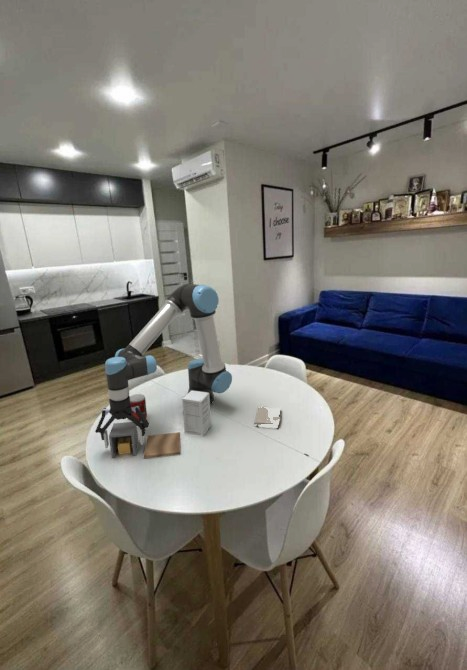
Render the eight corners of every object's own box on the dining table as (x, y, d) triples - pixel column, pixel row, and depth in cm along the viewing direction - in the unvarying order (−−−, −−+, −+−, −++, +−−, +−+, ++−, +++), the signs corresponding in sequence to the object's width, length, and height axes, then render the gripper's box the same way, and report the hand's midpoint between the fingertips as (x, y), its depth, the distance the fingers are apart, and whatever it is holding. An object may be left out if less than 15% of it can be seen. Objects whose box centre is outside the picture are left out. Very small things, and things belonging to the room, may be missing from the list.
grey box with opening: (138, 442, 128) (136, 421, 126) (135, 455, 120) (133, 433, 117) (116, 444, 127) (113, 423, 124) (111, 458, 118) (108, 435, 116)
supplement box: (211, 425, 140) (210, 392, 136) (203, 436, 132) (201, 401, 128) (192, 422, 144) (191, 389, 139) (183, 432, 135) (181, 398, 131)
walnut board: (180, 434, 134) (180, 432, 133) (180, 454, 120) (179, 451, 120) (147, 437, 131) (147, 435, 131) (143, 458, 118) (143, 456, 118)
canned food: (142, 423, 143) (140, 401, 140) (127, 421, 145) (124, 400, 142) (149, 414, 150) (148, 394, 148) (135, 413, 152) (133, 393, 149)
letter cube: (132, 446, 126) (131, 436, 125) (130, 452, 122) (129, 443, 121) (120, 447, 125) (119, 437, 124) (118, 454, 121) (117, 444, 120)
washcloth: (253, 428, 139) (253, 422, 138) (257, 409, 156) (257, 403, 155) (279, 430, 137) (280, 424, 136) (281, 411, 154) (281, 405, 153)
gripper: (153, 390, 123) (156, 436, 128) (88, 395, 119) (94, 442, 124) (151, 398, 116) (155, 446, 121) (82, 404, 112) (89, 453, 117)
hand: (124, 444), depth 123 cm, fingers open, 13 cm apart
